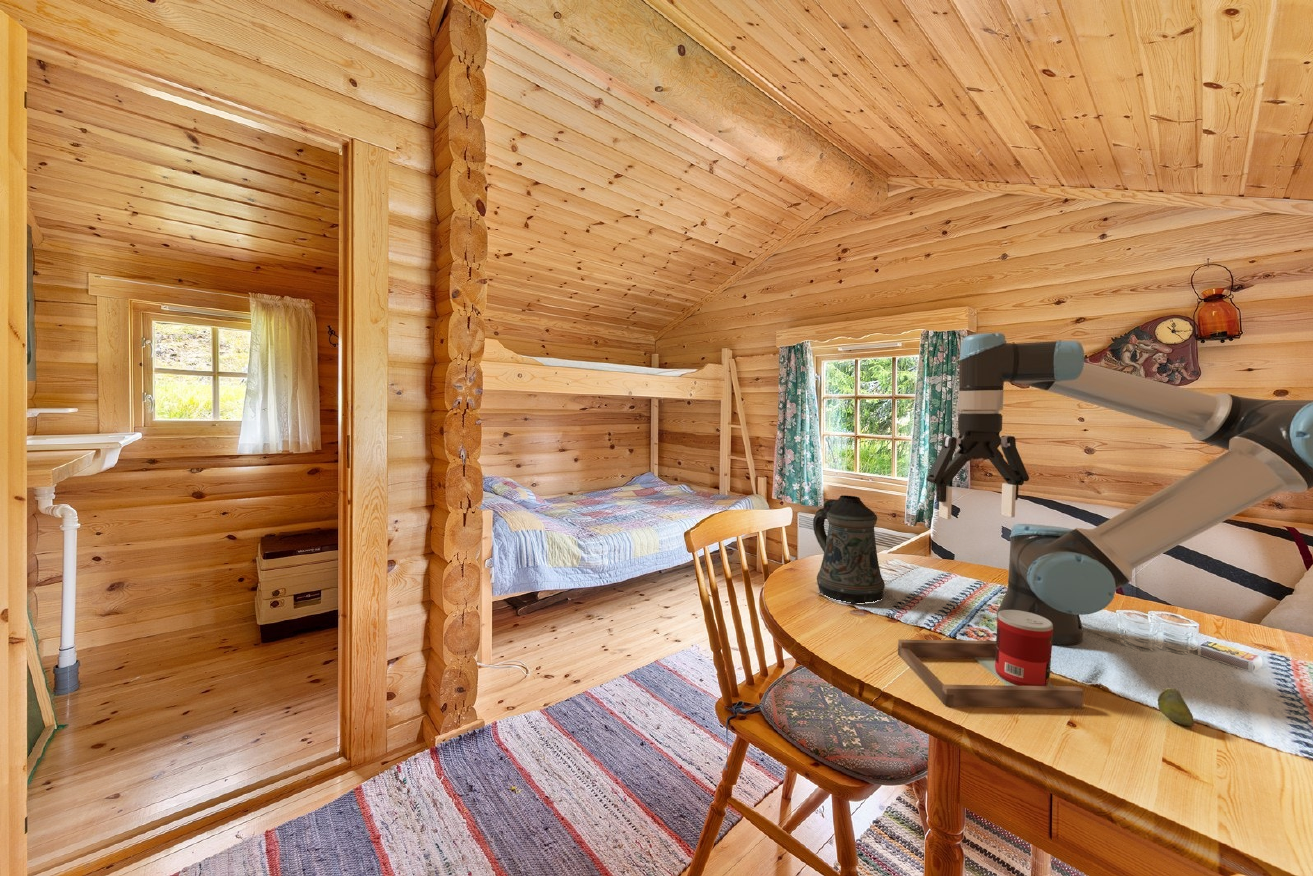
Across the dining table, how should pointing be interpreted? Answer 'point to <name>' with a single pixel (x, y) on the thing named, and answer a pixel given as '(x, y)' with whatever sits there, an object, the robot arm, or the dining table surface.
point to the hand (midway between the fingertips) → (976, 517)
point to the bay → (982, 693)
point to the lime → (1175, 707)
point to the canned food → (1023, 648)
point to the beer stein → (848, 551)
